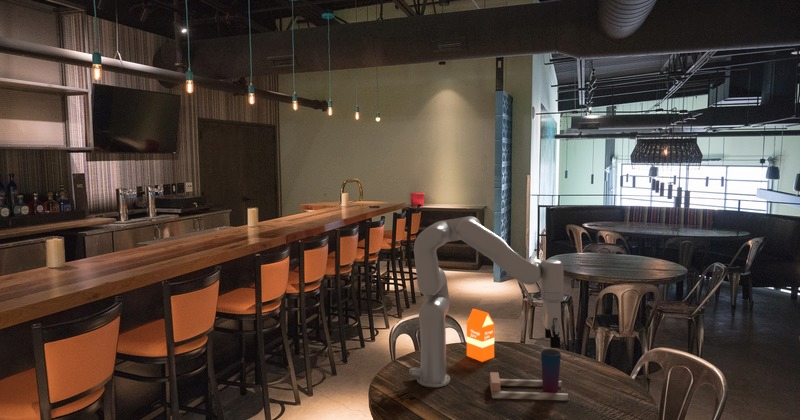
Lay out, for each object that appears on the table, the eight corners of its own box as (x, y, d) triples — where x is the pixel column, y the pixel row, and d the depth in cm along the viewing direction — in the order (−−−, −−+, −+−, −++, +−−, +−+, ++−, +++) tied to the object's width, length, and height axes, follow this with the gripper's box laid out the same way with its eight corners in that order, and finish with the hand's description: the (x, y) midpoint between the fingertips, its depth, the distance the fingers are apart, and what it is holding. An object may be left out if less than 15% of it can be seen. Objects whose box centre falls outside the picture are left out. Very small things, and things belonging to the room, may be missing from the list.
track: (492, 397, 181) (492, 384, 180) (489, 383, 192) (489, 370, 192) (568, 400, 178) (568, 386, 178) (561, 385, 190) (561, 372, 189)
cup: (536, 389, 187) (537, 349, 185) (552, 387, 189) (553, 347, 187) (547, 398, 180) (548, 356, 179) (564, 395, 182) (565, 354, 181)
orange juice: (478, 351, 224) (478, 306, 222) (494, 357, 217) (494, 311, 215) (466, 355, 219) (466, 310, 217) (482, 362, 212) (482, 314, 210)
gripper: (537, 289, 190) (537, 334, 191) (545, 302, 172) (546, 351, 174) (558, 289, 189) (558, 334, 191) (568, 302, 172) (568, 351, 173)
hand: (552, 342), depth 182 cm, fingers open, 9 cm apart
